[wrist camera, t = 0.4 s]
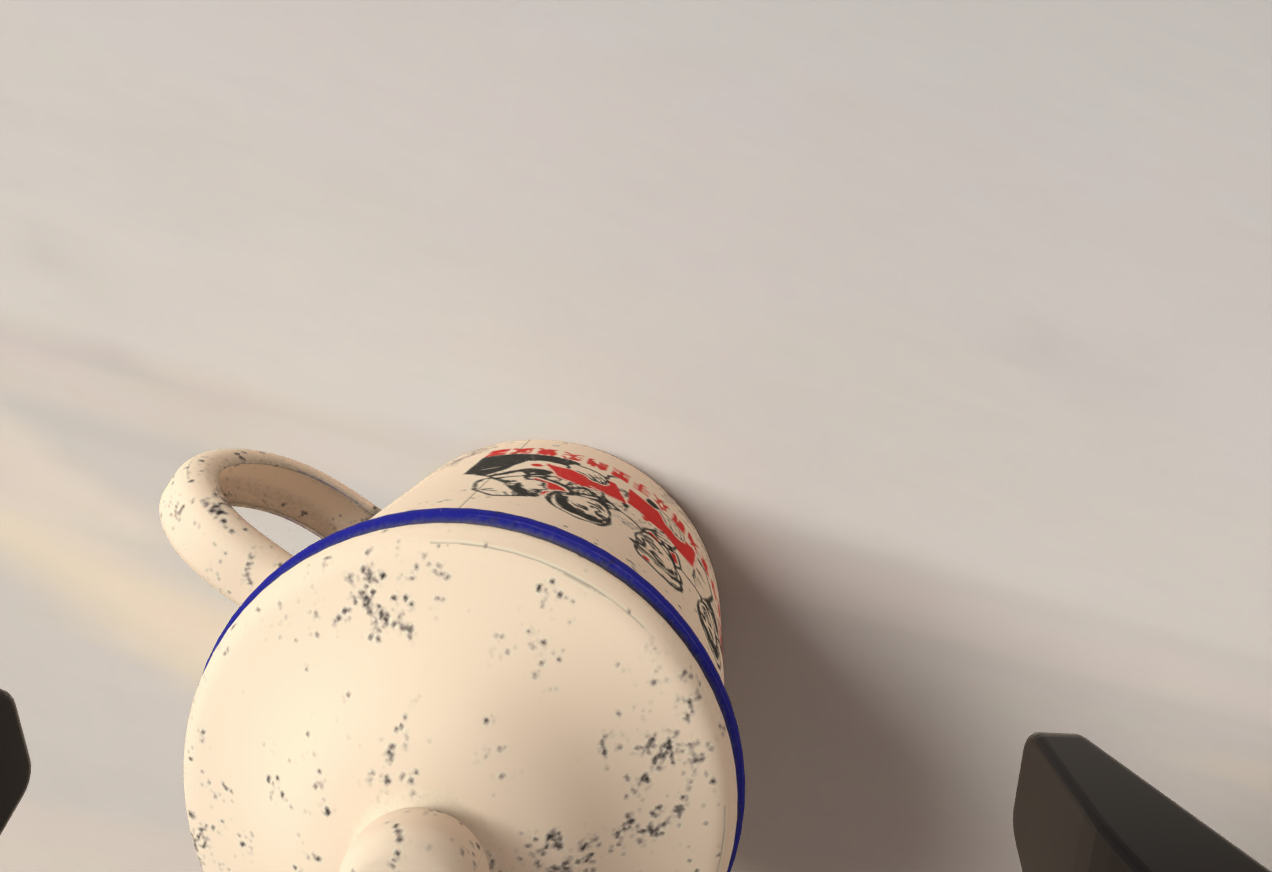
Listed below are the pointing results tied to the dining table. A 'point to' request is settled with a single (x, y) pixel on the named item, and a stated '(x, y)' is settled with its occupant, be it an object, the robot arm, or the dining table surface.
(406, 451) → the dining table surface
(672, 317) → the dining table surface
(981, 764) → the dining table surface
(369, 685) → the teacup with lid
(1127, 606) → the dining table surface
